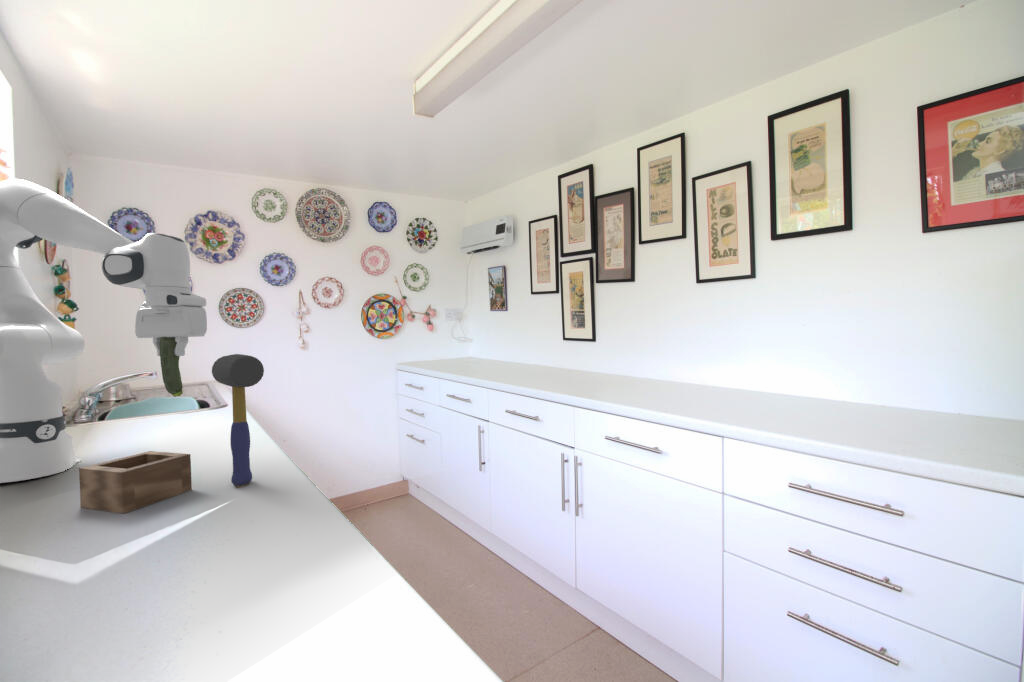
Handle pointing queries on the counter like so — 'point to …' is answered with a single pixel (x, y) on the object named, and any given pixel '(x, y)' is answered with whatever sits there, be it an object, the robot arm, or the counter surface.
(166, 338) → the vegetable
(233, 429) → the rubber mallet
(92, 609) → the counter surface
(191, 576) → the counter surface
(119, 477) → the socket block
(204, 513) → the counter surface
